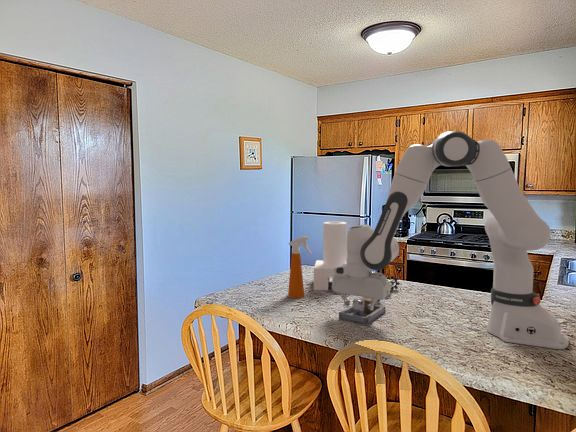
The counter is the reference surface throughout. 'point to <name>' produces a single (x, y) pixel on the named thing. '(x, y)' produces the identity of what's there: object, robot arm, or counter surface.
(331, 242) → the white cylinder stand
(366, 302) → the walnut block
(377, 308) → the parts tray
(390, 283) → the valve
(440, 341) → the counter surface
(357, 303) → the metal cylinder
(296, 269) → the spray bottle
